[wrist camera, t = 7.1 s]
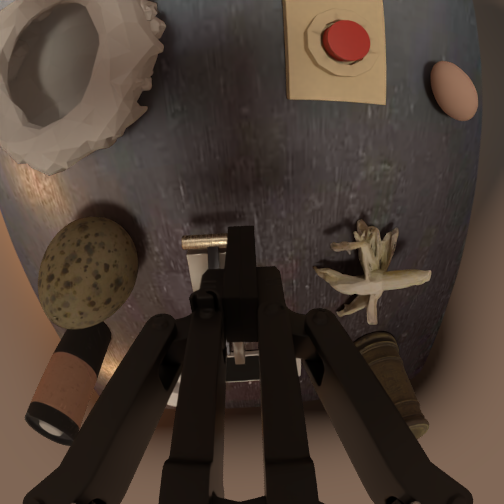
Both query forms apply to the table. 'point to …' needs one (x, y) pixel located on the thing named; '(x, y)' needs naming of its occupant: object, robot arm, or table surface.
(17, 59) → the bowl
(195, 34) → the table surface
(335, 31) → the button
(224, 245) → the lever
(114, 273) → the decorative egg
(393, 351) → the container
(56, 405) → the travel mug
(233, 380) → the smartphone
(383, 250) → the branching beige root
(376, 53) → the button box
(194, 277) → the switch bracket
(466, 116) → the egg
